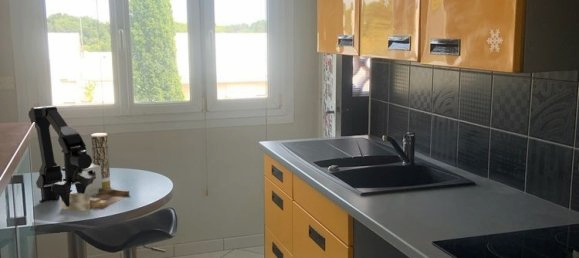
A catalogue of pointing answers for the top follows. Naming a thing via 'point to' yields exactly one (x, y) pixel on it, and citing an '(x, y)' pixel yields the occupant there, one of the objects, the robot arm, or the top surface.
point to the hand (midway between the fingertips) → (74, 203)
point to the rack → (111, 195)
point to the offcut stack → (97, 203)
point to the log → (101, 156)
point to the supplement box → (97, 182)
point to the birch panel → (77, 202)
